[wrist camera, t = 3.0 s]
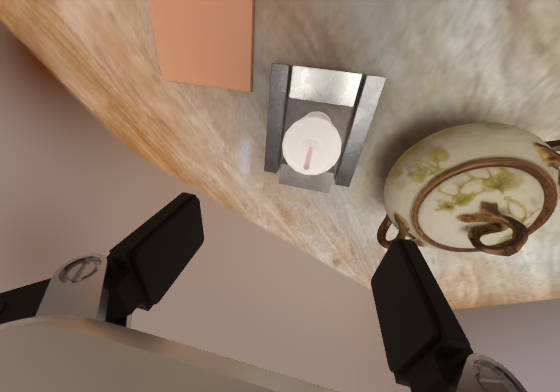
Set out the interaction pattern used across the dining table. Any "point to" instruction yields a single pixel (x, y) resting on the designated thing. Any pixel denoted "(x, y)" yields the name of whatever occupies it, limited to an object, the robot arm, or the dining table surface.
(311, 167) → the beverage cup
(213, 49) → the terracotta tile
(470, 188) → the sugar bowl
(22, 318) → the robot arm
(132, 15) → the dining table surface
